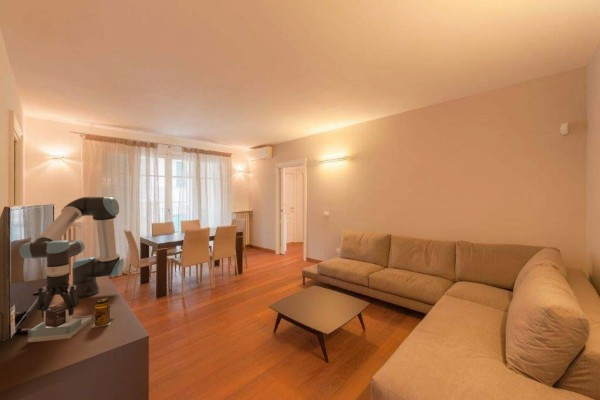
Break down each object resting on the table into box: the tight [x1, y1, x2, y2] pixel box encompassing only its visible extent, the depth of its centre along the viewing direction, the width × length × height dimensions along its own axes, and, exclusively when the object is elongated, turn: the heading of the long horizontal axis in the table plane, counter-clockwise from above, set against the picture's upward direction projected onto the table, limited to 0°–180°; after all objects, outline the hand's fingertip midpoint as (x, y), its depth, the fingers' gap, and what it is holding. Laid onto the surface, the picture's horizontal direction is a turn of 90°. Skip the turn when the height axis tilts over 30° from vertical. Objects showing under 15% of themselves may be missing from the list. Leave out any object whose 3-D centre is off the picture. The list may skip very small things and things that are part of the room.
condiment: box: [91, 297, 115, 328], centre depth 124 cm, size 7×8×12 cm
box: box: [45, 305, 68, 327], centre depth 113 cm, size 6×6×7 cm
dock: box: [27, 315, 94, 343], centre depth 117 cm, size 17×16×5 cm
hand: (58, 323), depth 113 cm, fingers closed on box, 8 cm apart
